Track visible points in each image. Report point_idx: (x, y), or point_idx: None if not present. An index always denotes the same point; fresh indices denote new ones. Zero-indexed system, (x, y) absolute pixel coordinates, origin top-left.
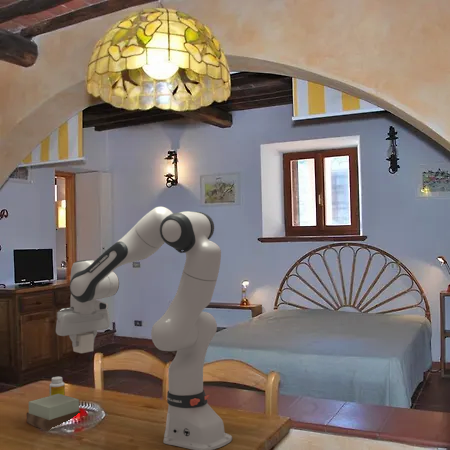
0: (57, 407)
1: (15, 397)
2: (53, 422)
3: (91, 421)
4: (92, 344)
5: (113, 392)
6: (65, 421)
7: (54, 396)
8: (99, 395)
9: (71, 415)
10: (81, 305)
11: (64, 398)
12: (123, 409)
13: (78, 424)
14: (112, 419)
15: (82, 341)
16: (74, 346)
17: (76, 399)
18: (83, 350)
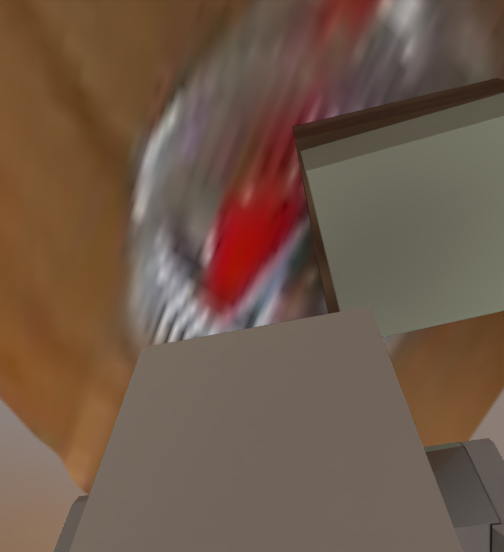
0: (471, 120)
1: None
2: (471, 93)
3: (248, 85)
4: (135, 426)
5: (26, 413)
6: (389, 109)
7: (390, 310)
8: (91, 410)
9: (355, 123)
10: None
11: (366, 243)
12: (37, 170)
13: (323, 81)
14: (137, 41)
15: (397, 472)
16: (489, 450)
17: (320, 177)
18: (334, 337)
